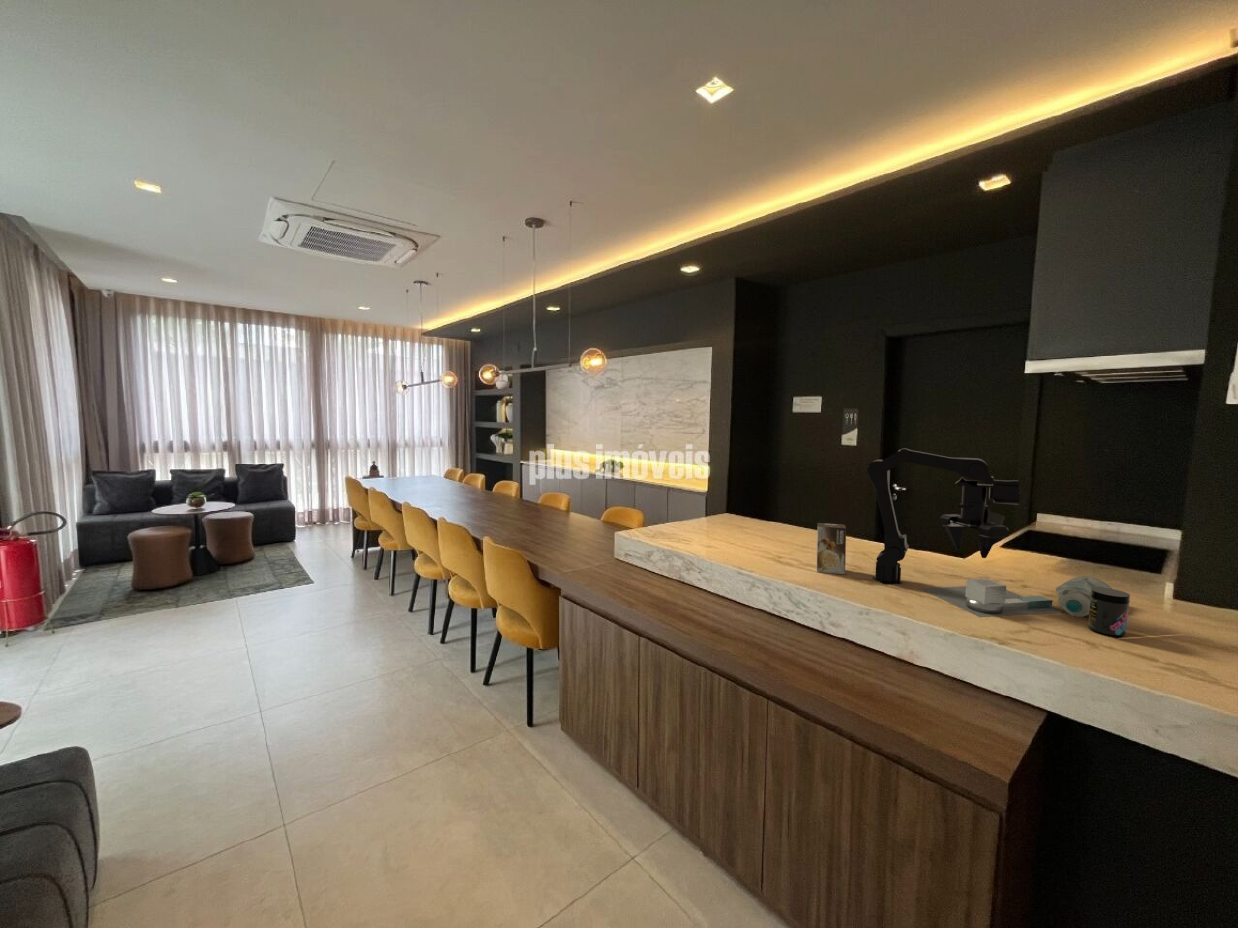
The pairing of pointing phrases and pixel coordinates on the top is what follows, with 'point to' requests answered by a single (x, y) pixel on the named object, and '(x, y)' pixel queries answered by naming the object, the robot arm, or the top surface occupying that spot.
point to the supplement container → (1108, 612)
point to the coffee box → (831, 548)
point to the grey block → (985, 591)
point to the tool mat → (958, 599)
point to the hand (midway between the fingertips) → (970, 553)
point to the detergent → (1078, 595)
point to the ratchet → (1010, 604)
